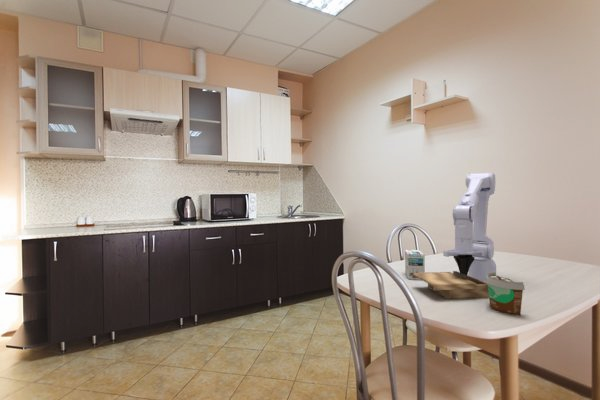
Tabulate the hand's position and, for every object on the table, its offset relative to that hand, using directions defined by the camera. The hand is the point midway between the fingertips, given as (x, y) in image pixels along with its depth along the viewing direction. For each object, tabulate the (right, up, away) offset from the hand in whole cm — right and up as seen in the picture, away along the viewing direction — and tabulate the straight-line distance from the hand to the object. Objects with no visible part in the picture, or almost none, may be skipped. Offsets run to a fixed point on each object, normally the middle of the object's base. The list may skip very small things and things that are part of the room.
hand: (463, 275), depth 112 cm
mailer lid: (-8, -2, -1) cm, 8 cm away
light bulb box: (-10, -6, +21) cm, 24 cm away
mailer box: (-2, -6, 0) cm, 6 cm away
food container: (+2, -7, -17) cm, 18 cm away
